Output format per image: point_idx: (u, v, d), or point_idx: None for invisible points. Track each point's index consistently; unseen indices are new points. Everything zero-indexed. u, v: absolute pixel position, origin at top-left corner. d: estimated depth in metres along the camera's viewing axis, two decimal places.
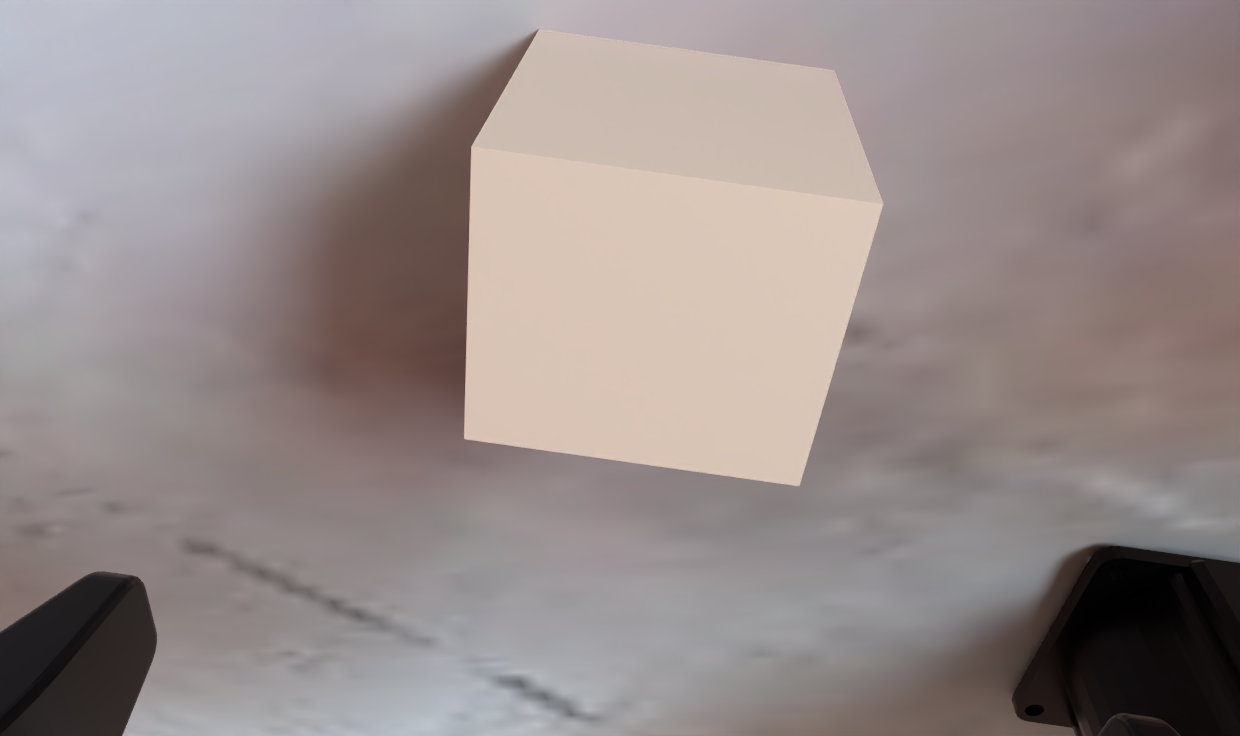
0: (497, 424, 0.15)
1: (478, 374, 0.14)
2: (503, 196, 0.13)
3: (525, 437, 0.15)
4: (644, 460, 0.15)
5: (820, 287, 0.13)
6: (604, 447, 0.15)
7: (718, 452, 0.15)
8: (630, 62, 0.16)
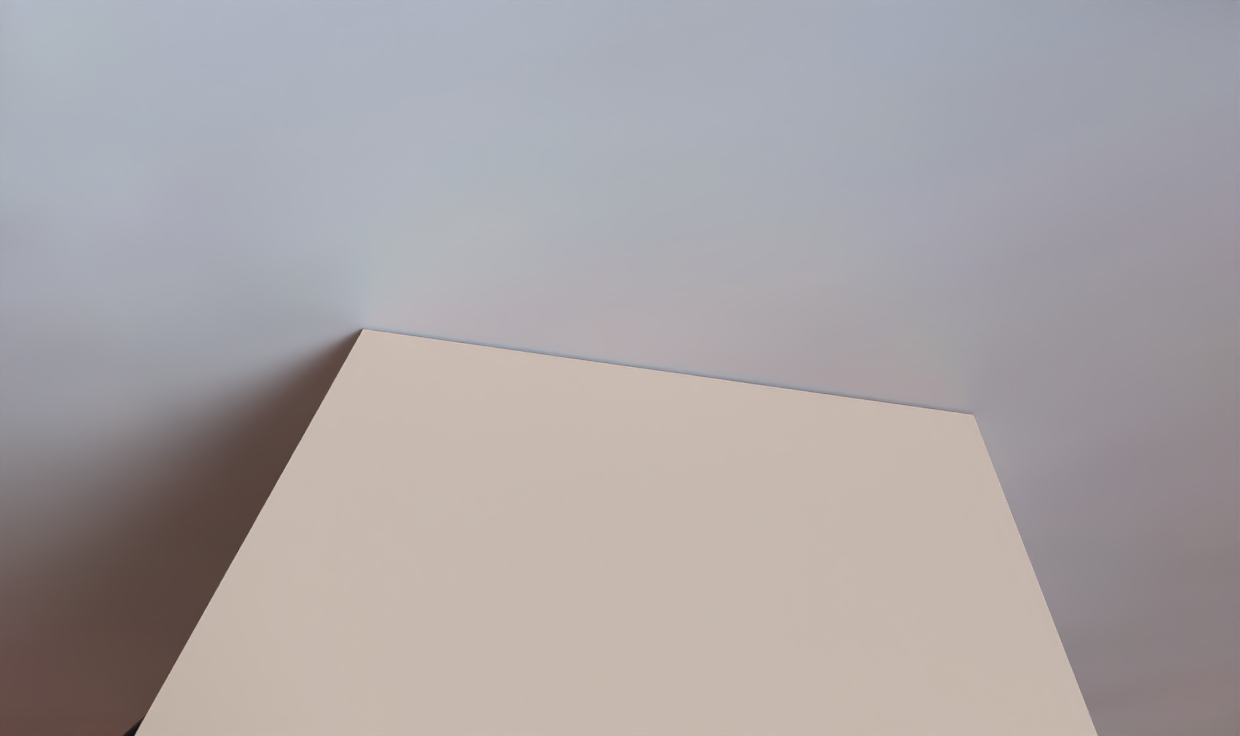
0: None
1: None
2: None
3: None
4: None
5: None
6: None
7: None
8: (541, 451, 0.07)
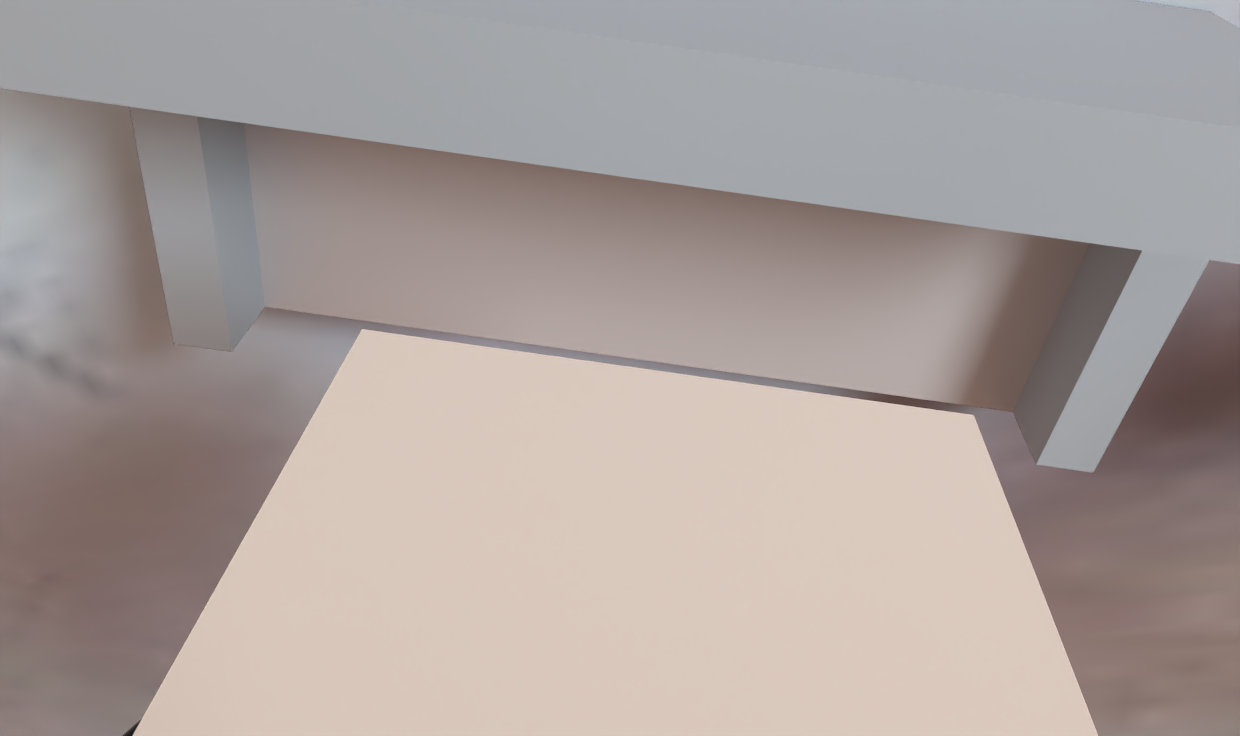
0: None
1: None
2: None
3: None
4: None
5: None
6: None
7: None
8: (541, 453, 0.07)
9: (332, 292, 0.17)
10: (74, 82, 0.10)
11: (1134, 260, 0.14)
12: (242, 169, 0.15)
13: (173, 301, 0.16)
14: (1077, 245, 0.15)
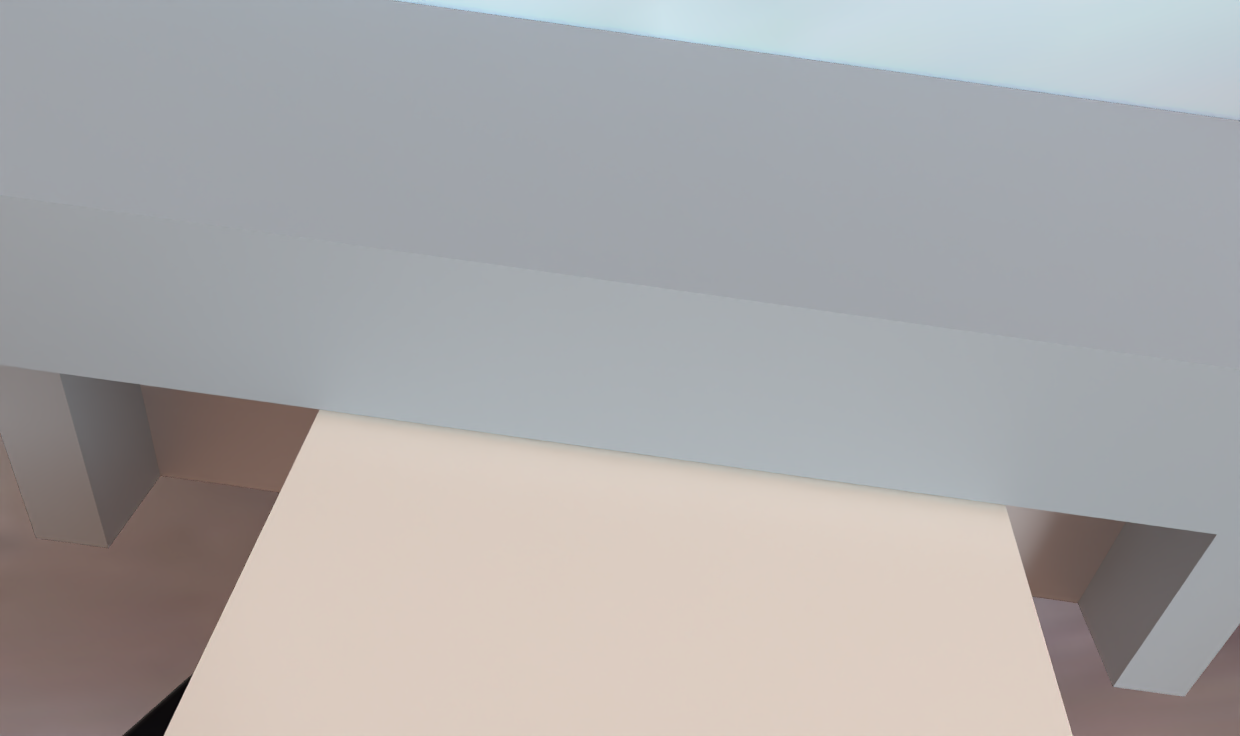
0: None
1: None
2: None
3: None
4: None
5: None
6: None
7: None
8: (532, 499, 0.07)
9: (240, 461, 0.14)
10: None
11: None
12: None
13: (30, 492, 0.12)
14: None
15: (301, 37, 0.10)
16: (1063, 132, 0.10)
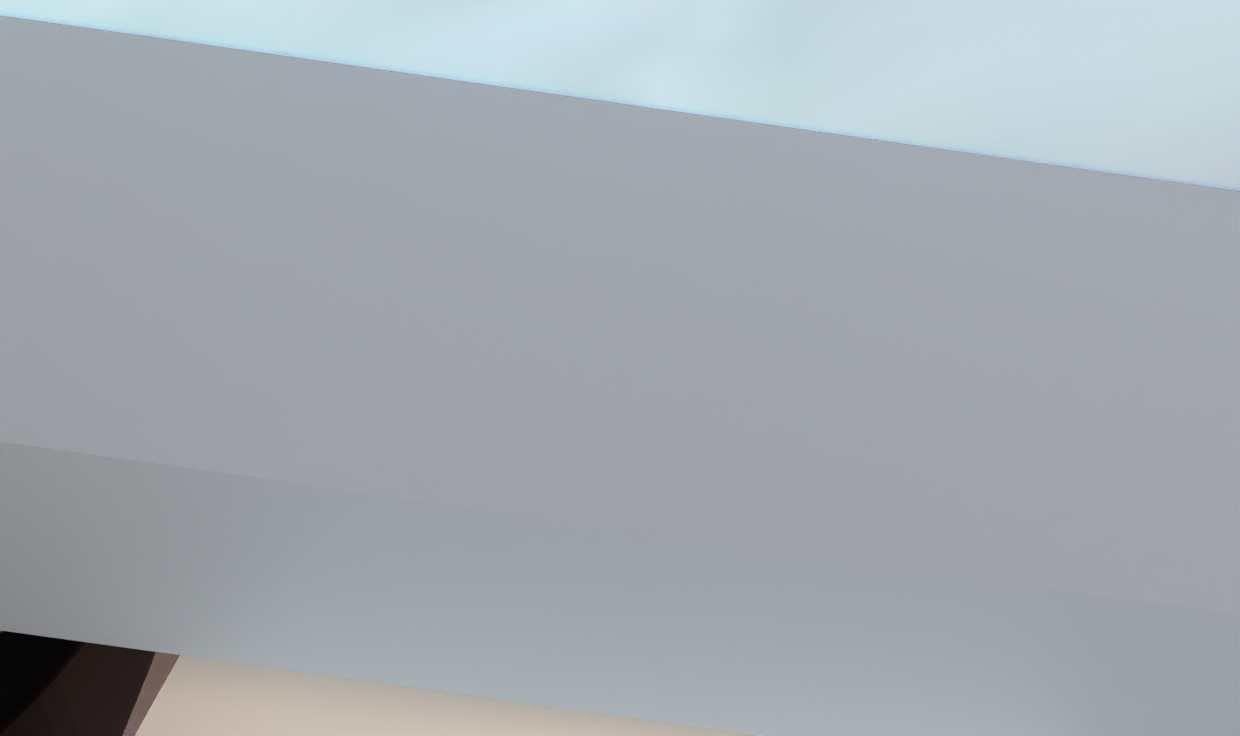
0: None
1: None
2: None
3: None
4: None
5: None
6: None
7: None
8: None
9: None
10: None
11: None
12: None
13: None
14: None
15: (211, 121, 0.08)
16: (1144, 232, 0.08)
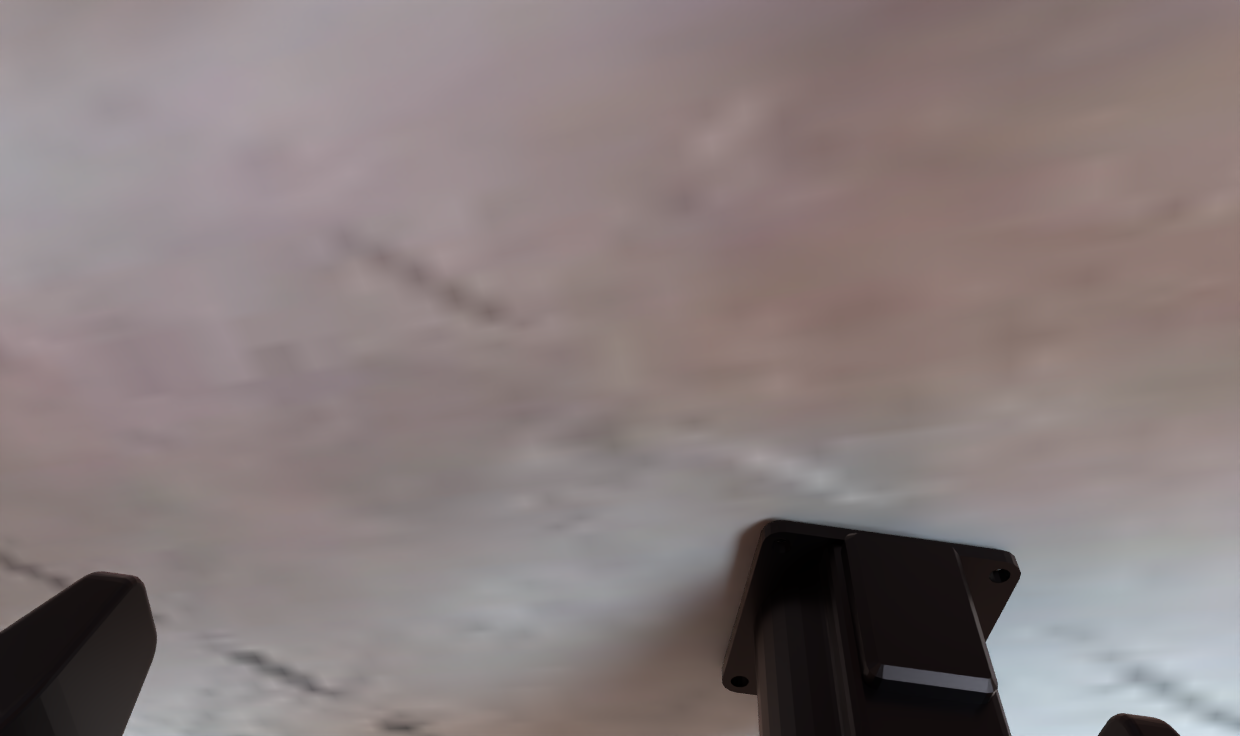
0: None
1: None
2: None
3: None
4: None
5: None
6: None
7: None
8: None
9: None
10: None
11: None
12: None
13: None
14: None
15: None
16: None
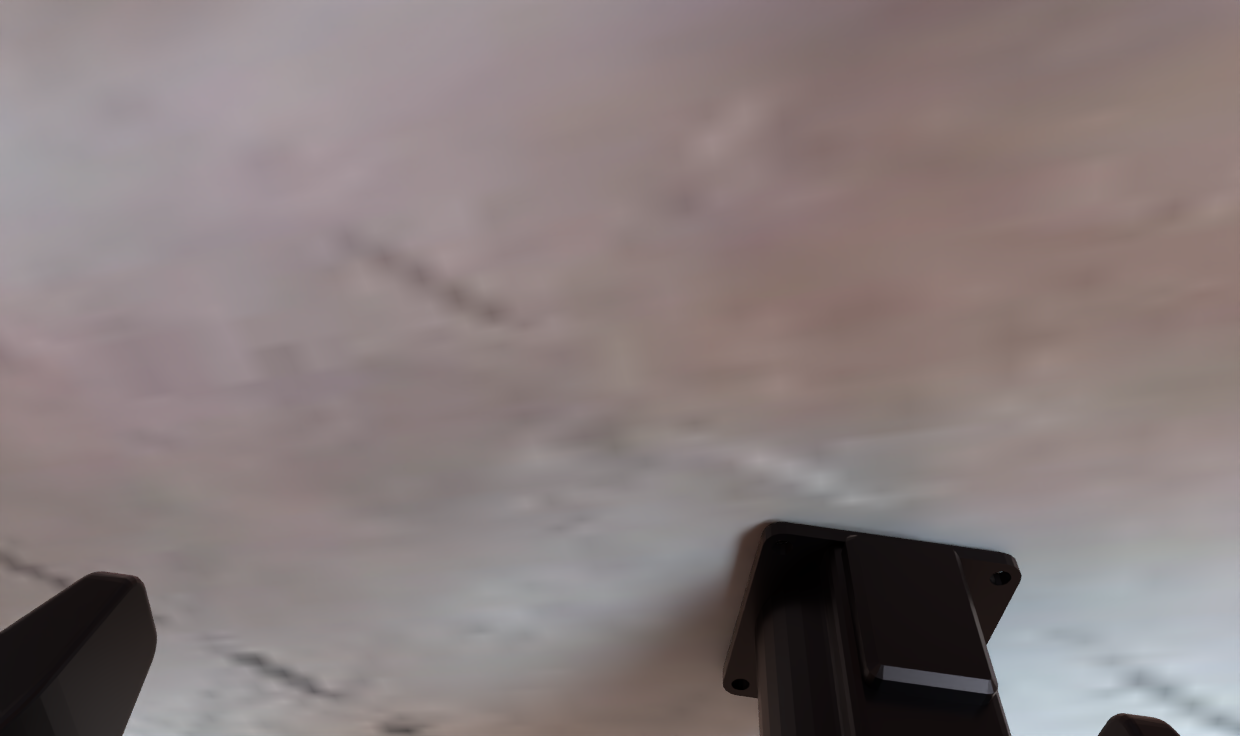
0: None
1: None
2: None
3: None
4: None
5: None
6: None
7: None
8: None
9: None
10: None
11: None
12: None
13: None
14: None
15: None
16: None
